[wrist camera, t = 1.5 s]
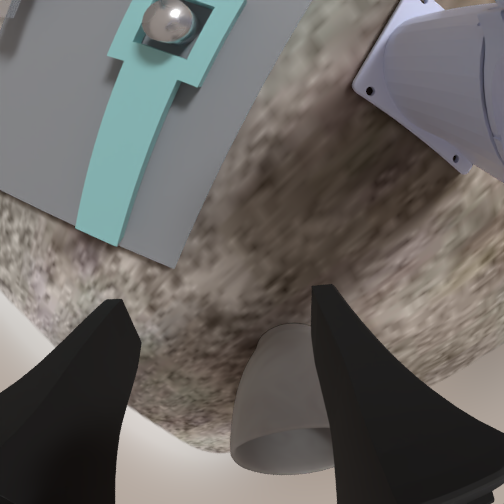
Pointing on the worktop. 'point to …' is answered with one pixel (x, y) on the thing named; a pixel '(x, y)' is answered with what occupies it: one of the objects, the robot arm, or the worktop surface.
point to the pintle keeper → (149, 21)
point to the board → (96, 99)
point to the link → (142, 113)
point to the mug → (281, 407)
